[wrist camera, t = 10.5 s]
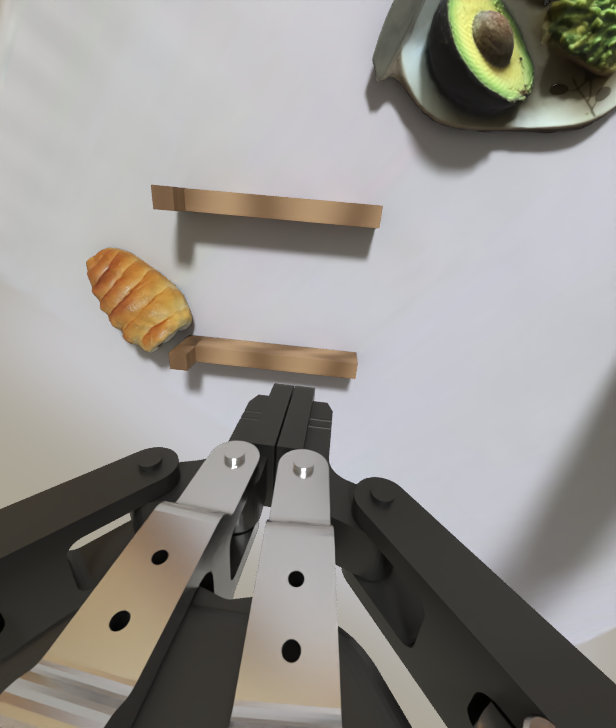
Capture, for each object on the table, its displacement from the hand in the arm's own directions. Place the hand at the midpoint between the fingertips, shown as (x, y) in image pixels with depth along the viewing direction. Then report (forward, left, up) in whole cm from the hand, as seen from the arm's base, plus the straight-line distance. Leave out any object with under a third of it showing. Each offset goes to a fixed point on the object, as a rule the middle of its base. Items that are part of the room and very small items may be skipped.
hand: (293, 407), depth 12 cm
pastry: (+16, +2, -19) cm, 25 cm away
